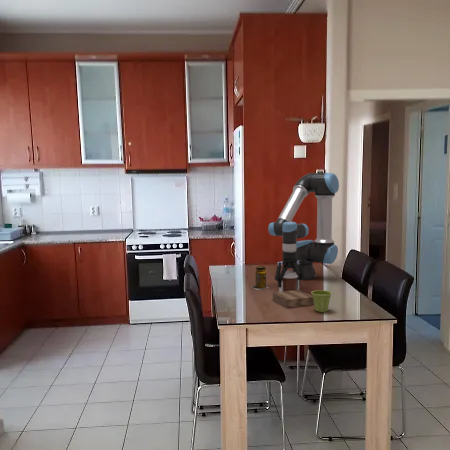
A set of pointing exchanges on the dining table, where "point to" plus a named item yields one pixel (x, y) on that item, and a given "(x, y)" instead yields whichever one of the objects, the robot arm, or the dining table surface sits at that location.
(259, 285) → the condiment
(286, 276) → the coffee cup
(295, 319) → the dining table surface
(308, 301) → the base slab
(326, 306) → the plant pot
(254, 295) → the dining table surface
